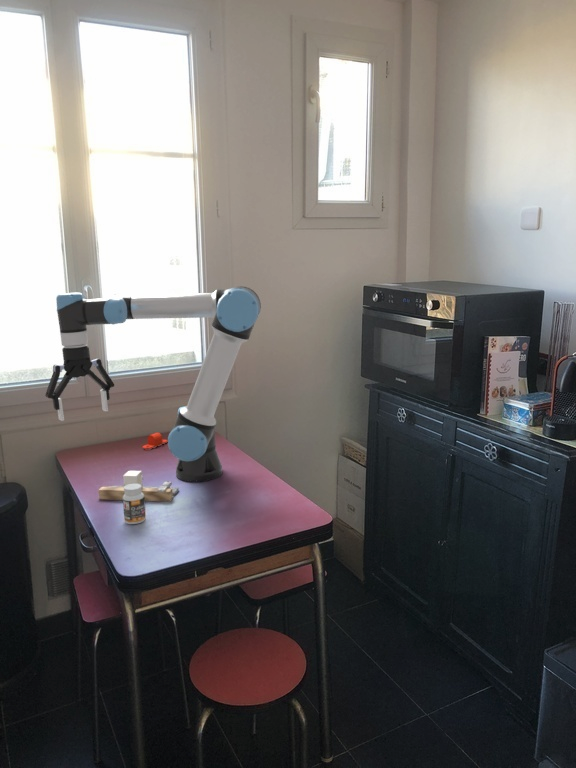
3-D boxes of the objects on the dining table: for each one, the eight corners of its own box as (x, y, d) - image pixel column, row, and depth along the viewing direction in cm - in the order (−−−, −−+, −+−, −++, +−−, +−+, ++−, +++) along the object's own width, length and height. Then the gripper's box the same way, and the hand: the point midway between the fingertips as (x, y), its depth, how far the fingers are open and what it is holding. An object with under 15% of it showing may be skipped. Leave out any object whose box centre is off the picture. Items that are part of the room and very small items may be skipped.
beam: (172, 498, 187) (172, 488, 186) (170, 501, 184) (169, 491, 184) (102, 495, 190) (102, 486, 189) (99, 499, 187) (98, 489, 187)
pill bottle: (135, 526, 168) (132, 492, 166) (120, 522, 171) (117, 488, 169) (150, 518, 173) (147, 485, 171) (135, 514, 176) (132, 481, 174)
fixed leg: (172, 488, 191) (171, 481, 190) (164, 497, 184) (163, 490, 183) (165, 488, 191) (165, 481, 191) (158, 497, 184) (157, 490, 184)
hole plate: (178, 490, 193) (178, 487, 192) (174, 496, 188) (174, 492, 188) (110, 488, 195) (110, 485, 195) (104, 494, 191) (104, 490, 191)
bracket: (147, 451, 232) (147, 438, 231) (140, 449, 234) (139, 437, 233) (169, 443, 241) (168, 430, 240) (162, 441, 243) (161, 429, 242)
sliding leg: (147, 490, 192) (145, 467, 190) (138, 500, 185) (136, 476, 183) (134, 490, 193) (132, 466, 191) (125, 500, 185) (123, 475, 184)
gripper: (110, 339, 195) (117, 405, 199) (27, 350, 180) (37, 421, 184) (120, 341, 189) (127, 409, 193) (36, 352, 174) (46, 426, 178)
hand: (83, 415), depth 189 cm, fingers open, 13 cm apart
